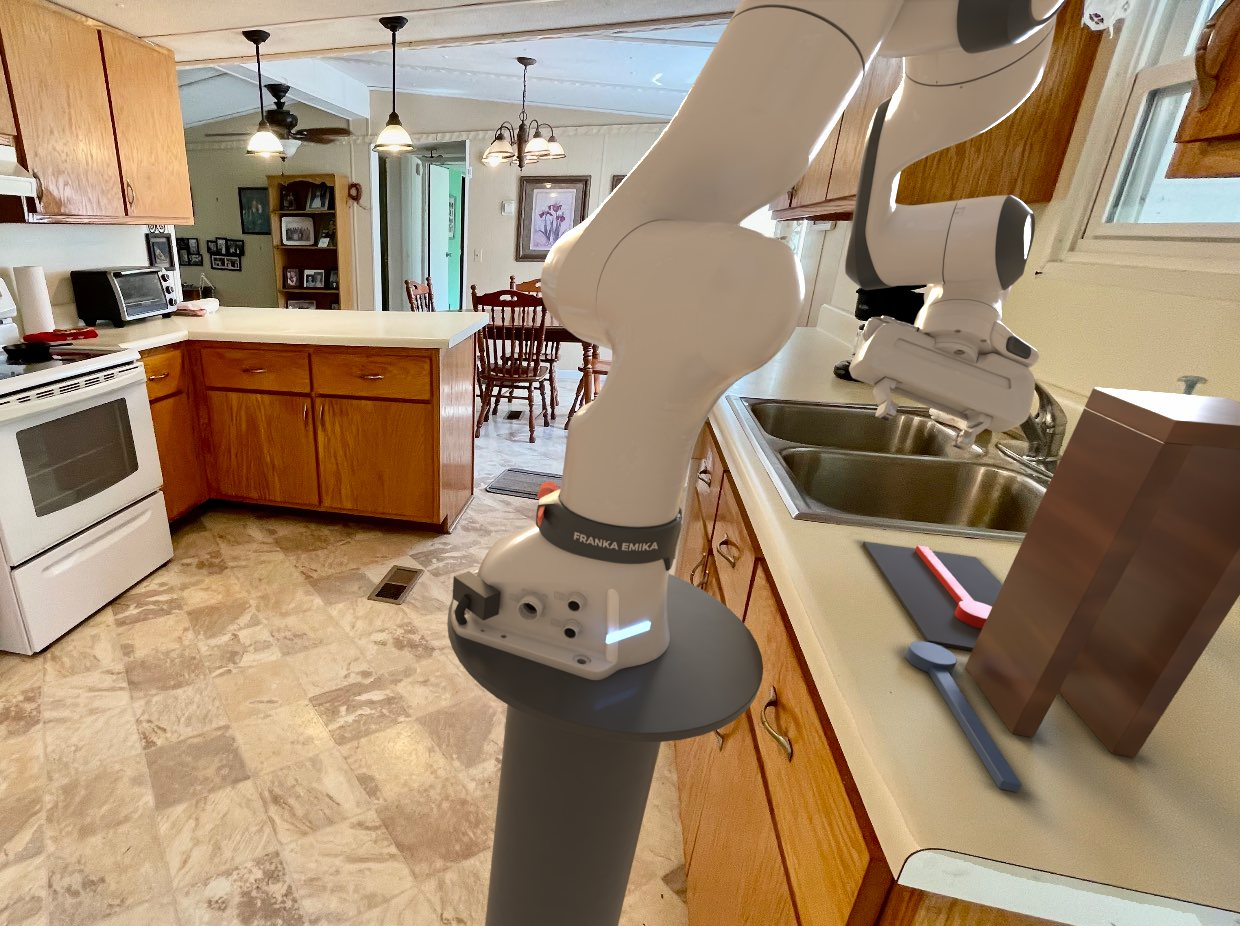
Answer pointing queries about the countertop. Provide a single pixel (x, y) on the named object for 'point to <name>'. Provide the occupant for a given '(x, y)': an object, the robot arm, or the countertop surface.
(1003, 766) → the blue spoon
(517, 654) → the robot arm
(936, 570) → the red spoon
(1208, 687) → the countertop surface
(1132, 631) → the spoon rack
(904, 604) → the charcoal mat
